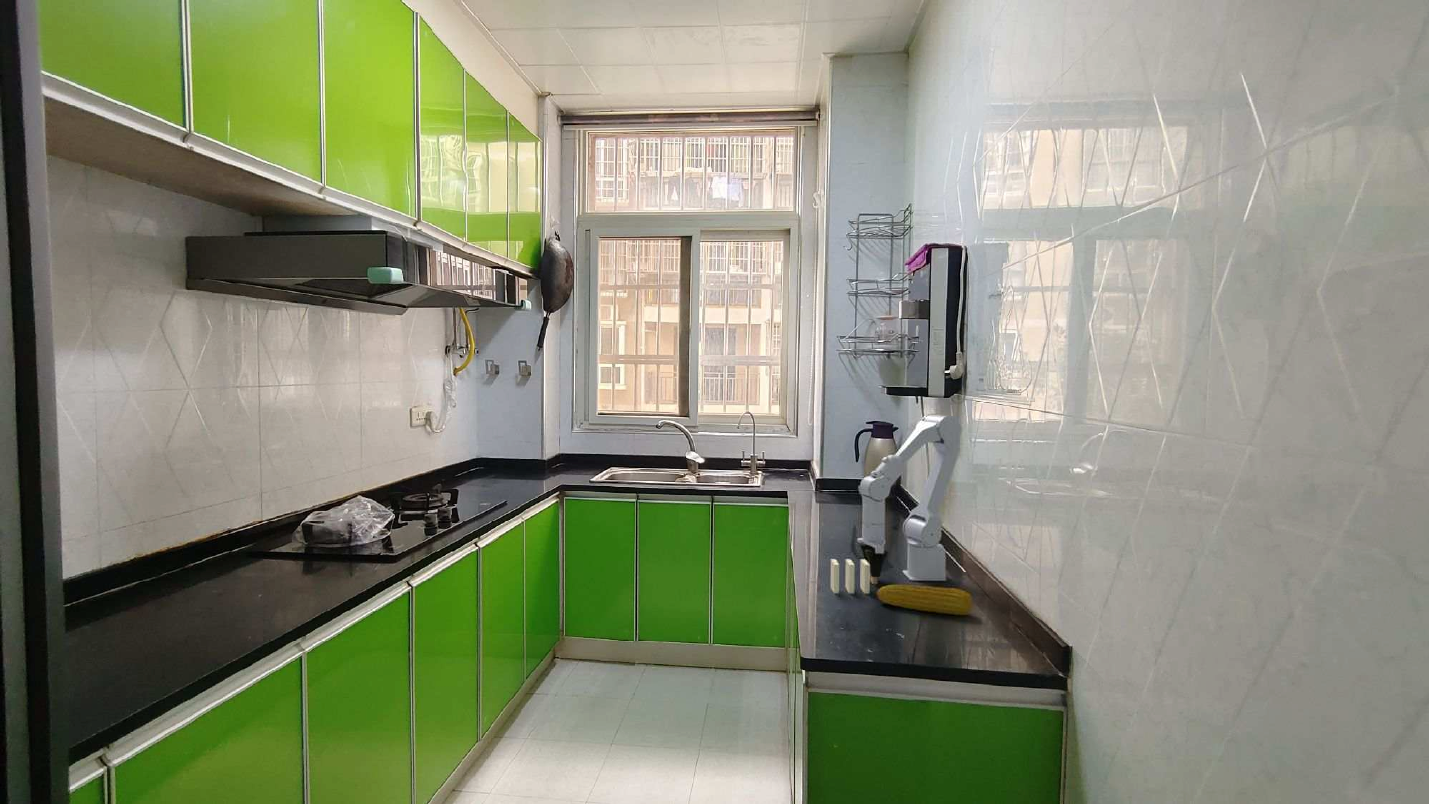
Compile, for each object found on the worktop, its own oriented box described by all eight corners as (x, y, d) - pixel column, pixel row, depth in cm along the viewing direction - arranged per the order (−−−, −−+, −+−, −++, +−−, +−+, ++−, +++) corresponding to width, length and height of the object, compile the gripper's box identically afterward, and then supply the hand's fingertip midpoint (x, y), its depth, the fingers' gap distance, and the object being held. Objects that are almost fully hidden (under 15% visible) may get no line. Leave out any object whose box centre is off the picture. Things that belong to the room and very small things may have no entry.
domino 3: (864, 587, 171) (865, 559, 171) (869, 593, 166) (869, 564, 166) (860, 587, 171) (860, 559, 171) (864, 593, 166) (864, 564, 166)
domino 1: (835, 587, 171) (835, 559, 171) (838, 593, 166) (839, 564, 166) (830, 587, 171) (830, 559, 171) (834, 593, 166) (834, 564, 166)
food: (972, 613, 153) (972, 587, 152) (970, 621, 147) (971, 594, 147) (878, 600, 161) (879, 575, 161) (874, 607, 156) (874, 582, 156)
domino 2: (850, 587, 171) (850, 559, 171) (854, 593, 166) (854, 564, 166) (845, 587, 171) (845, 559, 171) (849, 593, 166) (849, 564, 166)
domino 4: (872, 578, 178) (873, 551, 178) (877, 584, 173) (877, 556, 173) (868, 578, 178) (868, 551, 178) (872, 584, 173) (873, 556, 173)
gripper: (852, 516, 183) (851, 565, 183) (864, 528, 168) (863, 581, 169) (878, 516, 183) (877, 565, 183) (892, 528, 168) (891, 582, 169)
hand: (872, 573), depth 176 cm, fingers closed on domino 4, 5 cm apart
